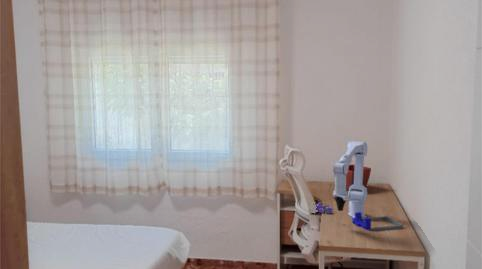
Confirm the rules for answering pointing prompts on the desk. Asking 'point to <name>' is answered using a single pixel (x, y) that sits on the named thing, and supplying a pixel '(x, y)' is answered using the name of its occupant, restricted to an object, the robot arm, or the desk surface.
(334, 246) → the desk surface
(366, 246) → the desk surface
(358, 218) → the cable clip
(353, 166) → the plant pot
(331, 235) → the desk surface
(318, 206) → the toy race car
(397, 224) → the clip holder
